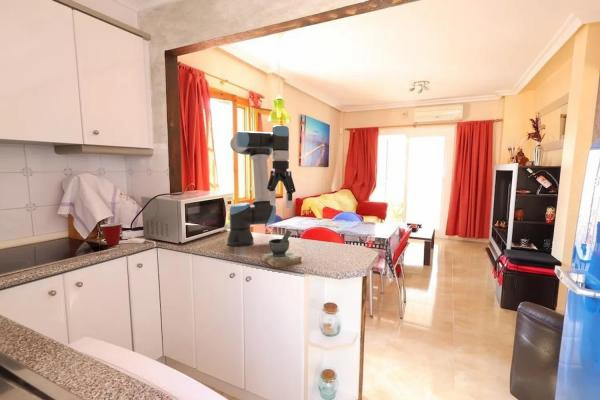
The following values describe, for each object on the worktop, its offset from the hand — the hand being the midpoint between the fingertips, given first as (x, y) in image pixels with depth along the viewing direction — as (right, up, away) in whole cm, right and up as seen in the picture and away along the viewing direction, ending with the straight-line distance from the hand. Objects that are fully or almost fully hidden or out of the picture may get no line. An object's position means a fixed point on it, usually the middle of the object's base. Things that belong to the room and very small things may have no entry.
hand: (280, 206), depth 137 cm
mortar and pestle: (0, -24, +3) cm, 24 cm away
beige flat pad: (0, -26, +3) cm, 26 cm away
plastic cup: (-98, -23, +30) cm, 105 cm away
